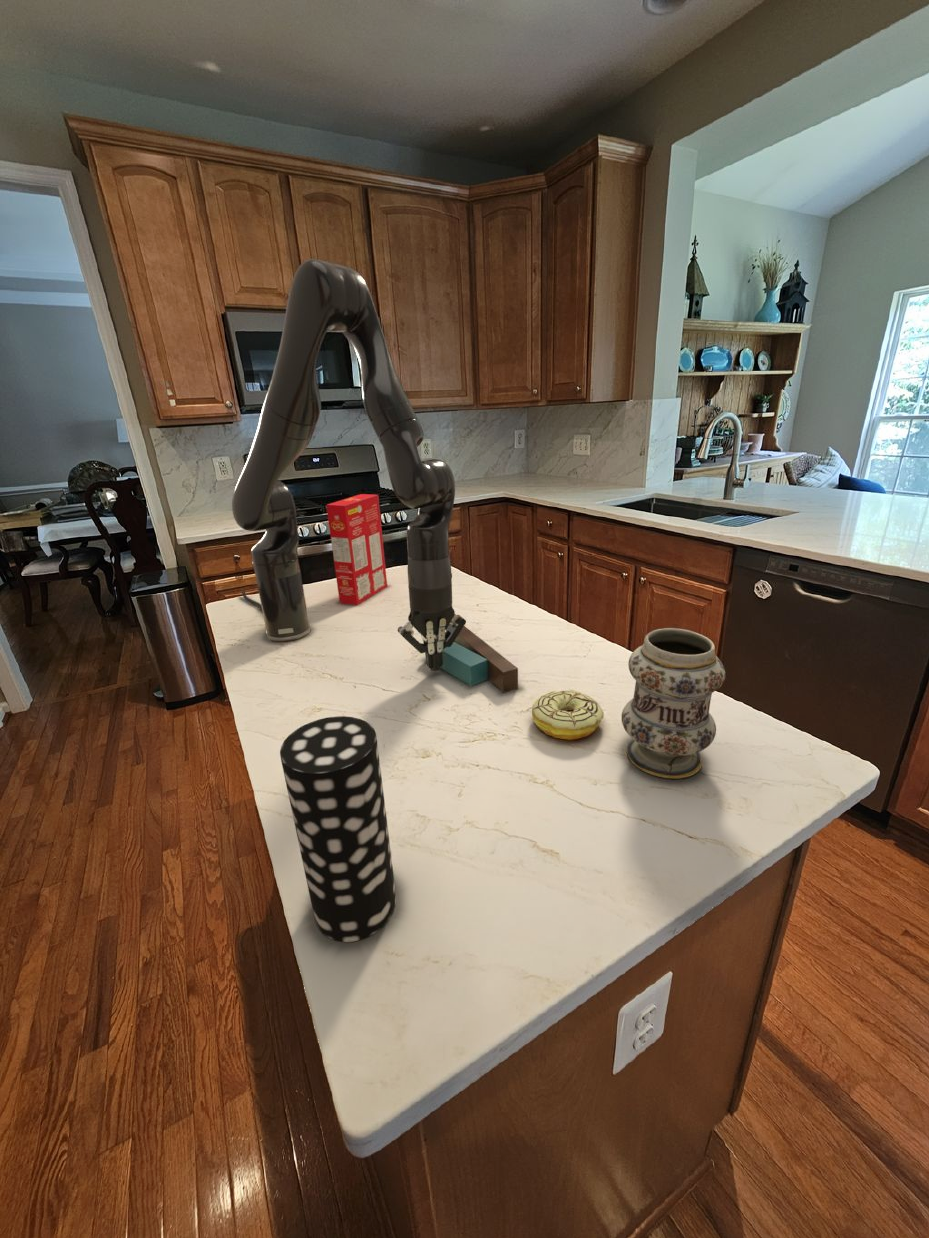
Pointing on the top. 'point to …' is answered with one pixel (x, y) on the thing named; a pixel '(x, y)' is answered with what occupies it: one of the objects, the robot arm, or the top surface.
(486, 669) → the teal bar
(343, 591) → the food packaging
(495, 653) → the walnut rail
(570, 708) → the decorated donut
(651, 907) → the top surface
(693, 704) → the apothecary jar
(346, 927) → the spotted tube
